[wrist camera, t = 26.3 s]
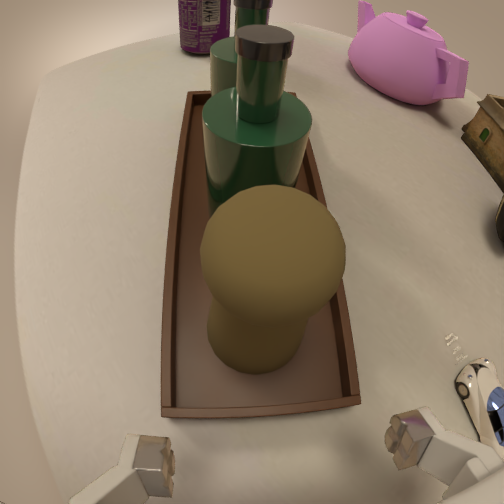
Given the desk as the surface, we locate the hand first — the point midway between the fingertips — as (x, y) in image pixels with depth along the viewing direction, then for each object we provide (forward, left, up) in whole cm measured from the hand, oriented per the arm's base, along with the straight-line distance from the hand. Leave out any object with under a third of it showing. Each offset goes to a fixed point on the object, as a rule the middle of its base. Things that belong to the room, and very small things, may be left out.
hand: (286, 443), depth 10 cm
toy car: (+13, -11, -8) cm, 19 cm away
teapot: (+43, +19, -8) cm, 48 cm away
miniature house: (+45, -2, -8) cm, 45 cm away
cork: (+4, +5, -8) cm, 10 cm away
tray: (+9, +13, -8) cm, 18 cm away
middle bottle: (+9, +13, -8) cm, 18 cm away
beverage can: (+24, +40, -8) cm, 48 cm away
